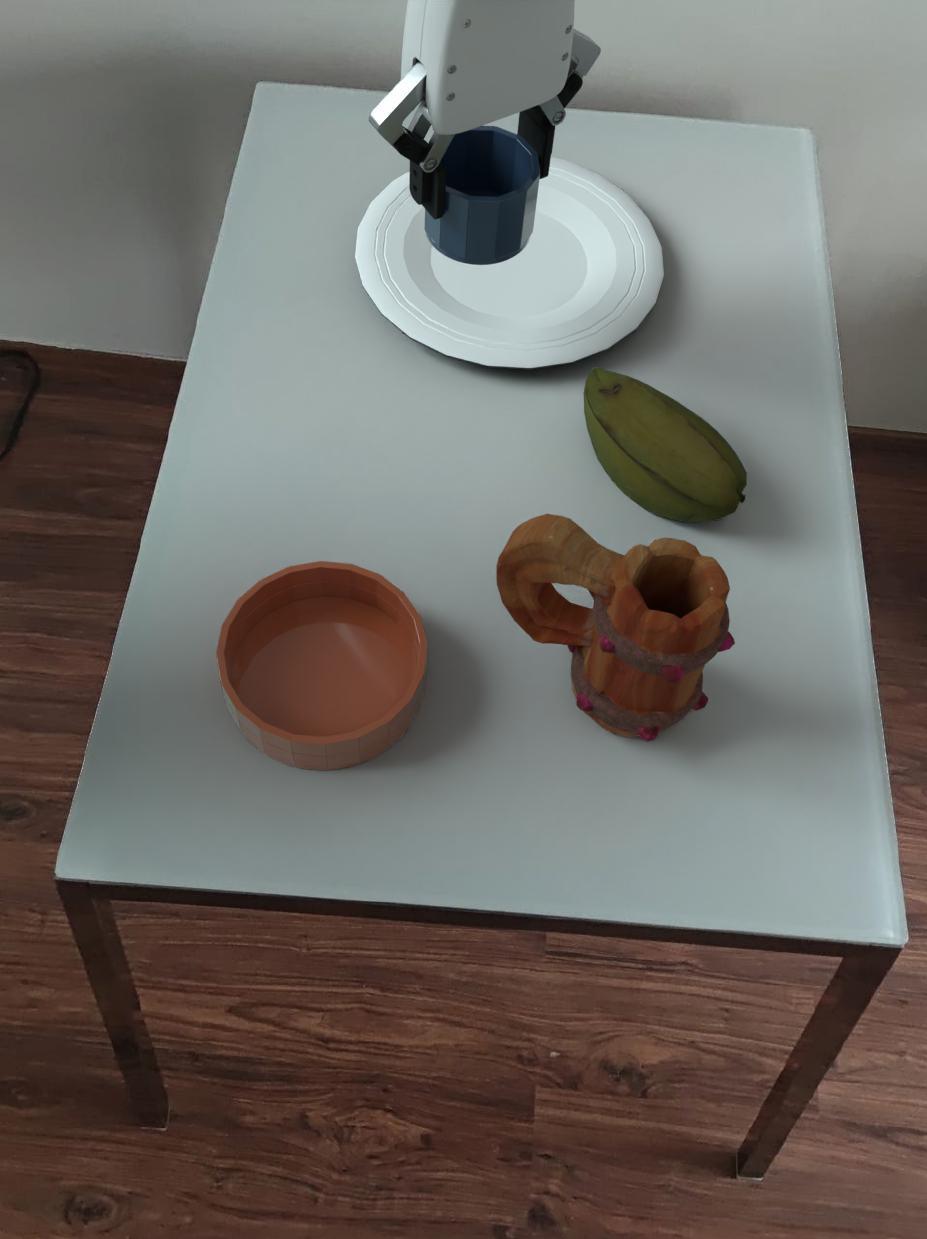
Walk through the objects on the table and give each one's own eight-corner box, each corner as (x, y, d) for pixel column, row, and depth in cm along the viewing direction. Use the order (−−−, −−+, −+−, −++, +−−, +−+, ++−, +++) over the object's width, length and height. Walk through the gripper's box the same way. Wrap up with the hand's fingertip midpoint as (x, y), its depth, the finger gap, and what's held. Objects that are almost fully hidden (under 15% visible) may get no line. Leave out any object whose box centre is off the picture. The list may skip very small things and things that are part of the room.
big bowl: (282, 806, 75) (277, 780, 71) (190, 647, 80) (182, 615, 77) (462, 710, 79) (465, 681, 75) (363, 564, 84) (362, 531, 81)
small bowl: (460, 279, 83) (464, 215, 79) (404, 212, 86) (404, 146, 82) (552, 242, 86) (561, 178, 81) (494, 178, 89) (500, 112, 84)
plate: (325, 355, 94) (324, 338, 92) (387, 147, 106) (387, 128, 105) (647, 406, 93) (652, 389, 91) (670, 189, 106) (675, 171, 104)
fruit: (578, 534, 86) (591, 477, 81) (576, 405, 92) (588, 343, 87) (738, 544, 87) (762, 488, 81) (725, 414, 93) (747, 353, 87)
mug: (716, 676, 81) (777, 549, 68) (675, 778, 77) (731, 663, 64) (515, 592, 84) (537, 455, 71) (465, 687, 80) (479, 559, 67)
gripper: (589, -142, 72) (555, 115, 87) (329, -66, 67) (341, 194, 82) (664, -78, 69) (615, 177, 84) (398, 7, 64) (397, 264, 79)
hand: (480, 184), depth 83 cm, fingers closed on small bowl, 7 cm apart
